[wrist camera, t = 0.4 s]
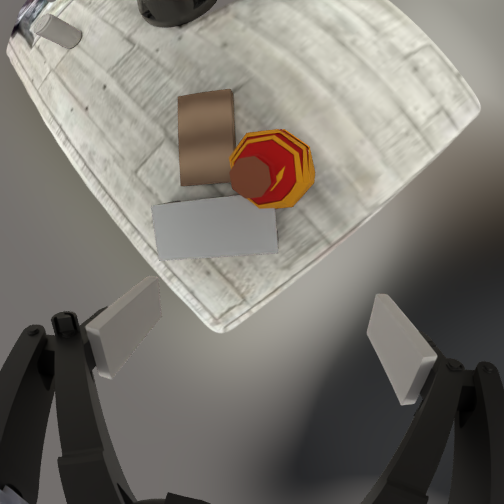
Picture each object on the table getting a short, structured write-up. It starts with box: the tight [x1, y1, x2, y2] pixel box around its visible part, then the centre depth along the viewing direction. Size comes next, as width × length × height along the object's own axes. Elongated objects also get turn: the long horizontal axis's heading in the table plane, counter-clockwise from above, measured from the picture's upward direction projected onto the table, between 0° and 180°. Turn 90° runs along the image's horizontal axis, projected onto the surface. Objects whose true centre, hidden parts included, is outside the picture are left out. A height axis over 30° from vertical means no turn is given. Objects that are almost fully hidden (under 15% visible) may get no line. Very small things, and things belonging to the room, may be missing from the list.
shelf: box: [151, 195, 278, 261], centre depth 38 cm, size 8×16×8 cm, turn 95°
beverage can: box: [34, 14, 82, 49], centre depth 29 cm, size 5×5×12 cm
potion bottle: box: [229, 129, 315, 209], centre depth 31 cm, size 10×10×15 cm
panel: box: [178, 89, 236, 186], centre depth 37 cm, size 14×8×3 cm, turn 3°
